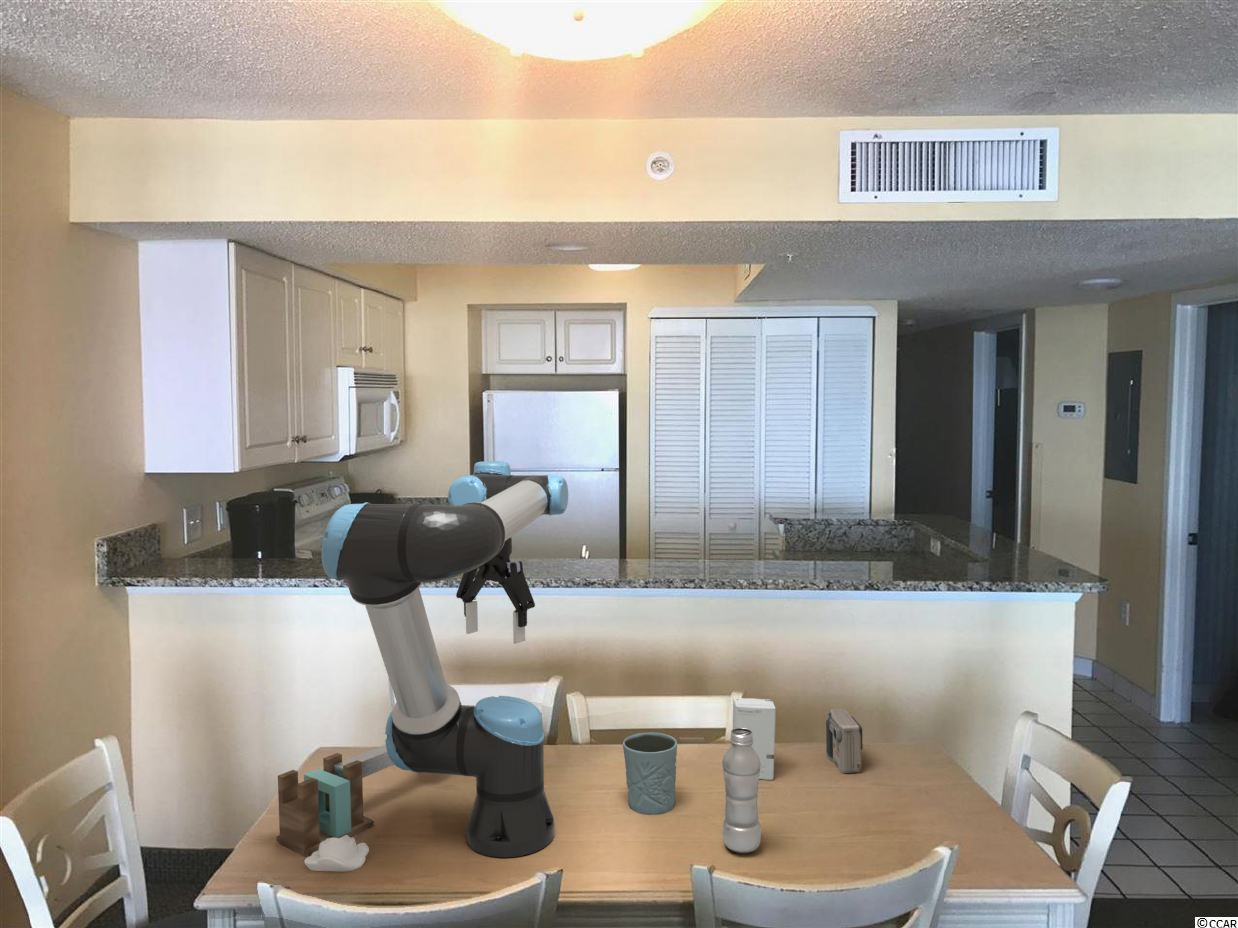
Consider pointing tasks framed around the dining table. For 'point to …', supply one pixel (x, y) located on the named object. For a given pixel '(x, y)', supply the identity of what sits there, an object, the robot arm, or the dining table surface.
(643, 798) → the drinking glass
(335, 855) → the white cowboy hat
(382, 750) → the shaft
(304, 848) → the block
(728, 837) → the plastic bottle
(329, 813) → the block
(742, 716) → the skincare box
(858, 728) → the camera
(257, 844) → the dining table surface
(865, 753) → the dining table surface
